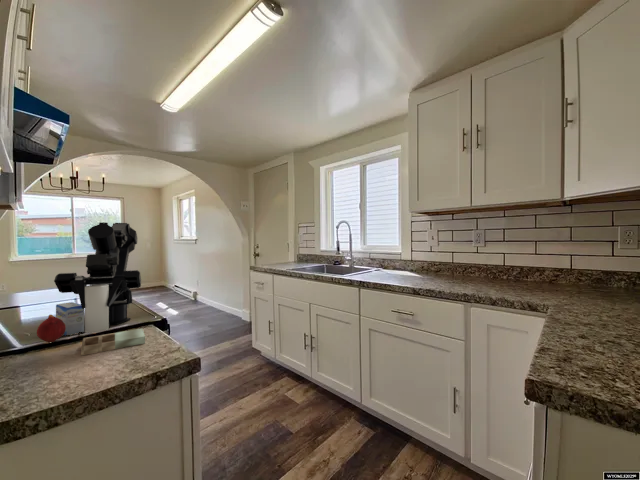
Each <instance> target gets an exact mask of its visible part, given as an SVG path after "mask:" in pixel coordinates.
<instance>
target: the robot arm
mask: <svg viewBox="0 0 640 480" xmlns="http://www.w3.org/2000/svg"><path fill="white" fill-rule="evenodd" d="M87 233H88V236H89V240H90V244H91V246H92V249H93V250H94V252H95V254H92V253H91V254H89V253H88V254H86V261H85V268H87V270H86V273H87V275H89V276H84V275H78V274H77V272H60V273H57V274H56V276H55V277H54V280H53V282H54V284H55V287H56V289H57V290H58V292H59V293H62V294H67V293H73V294H75V295H78V297H79V302H80V304H81V307H82V309H84V310H85V286H89V285H96V284H108V285H109V297H108V302H107V306H108V307H109V326H111V325H112V326H115V325H116V324H117V325H119V324H122V323H125V322H127V320H128V321H130V319H132V318H131V317H128V306H129V305H130V304H133V293H132V290H131V289H139V288H141V286H142V285H141V284H142V277H141V271H140V270H138V269H137V270H127V267H128V262H129V261H128V260H129V254H130V253H131V252H133V251H134V250H135V248H136V245H138V233H137V231H136V230H135V229H133V228H132V227H131V225H130V223H127V222H113V224H112V226H110V225H109V222H99V223H98V224H96V225H94V226H92V227H90V228H88V230H87Z"/></svg>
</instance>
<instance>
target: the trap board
mask: <svg viewBox="0 0 640 480" xmlns="http://www.w3.org/2000/svg"><path fill="white" fill-rule="evenodd" d="M144 332H145V331H144V329H143V327H141V328H136V329H131V330H125V331H117V332H113V333H106V334H100V335H99V334H98V335H95V336H89V337H83V338H82V342H81V346H80V356H87V355H92V354H96V353H97V354H98V353H101V352H108V351H112V350H117V349H122V348H127V347H133V346H137V345H143V344H146V336H145V333H144Z"/></svg>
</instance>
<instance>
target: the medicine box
mask: <svg viewBox="0 0 640 480" xmlns="http://www.w3.org/2000/svg"><path fill="white" fill-rule="evenodd" d="M55 317H56V318H59V319H60V320H62V321H63V322H64V324H65V326H66V330H65V333H64V334H63V335H62V336H66V335H70V336H72V335H71V334H74V335H76V334H75V333H79V332H82V333H84V332H85V308H84V309H82V307H81V303H76V302H73V301H71V302H64V303H58V304H55ZM79 334H80V333H79Z"/></svg>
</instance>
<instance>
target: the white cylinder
mask: <svg viewBox="0 0 640 480" xmlns="http://www.w3.org/2000/svg"><path fill="white" fill-rule="evenodd" d="M108 297H109V285H108V284H96V285H89V284H88V285H87V286H85V308H84V332H85V333H86V334H97V333H101V332H105V331H107V330H109V328H110V325H109V307H108V306H107V302H108Z"/></svg>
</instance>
